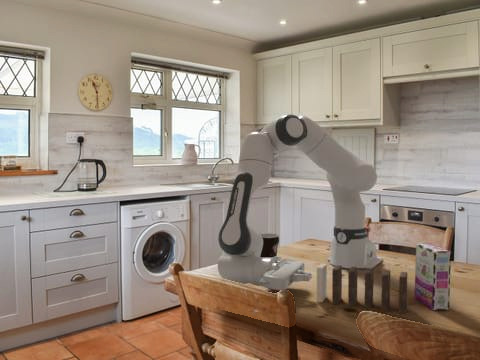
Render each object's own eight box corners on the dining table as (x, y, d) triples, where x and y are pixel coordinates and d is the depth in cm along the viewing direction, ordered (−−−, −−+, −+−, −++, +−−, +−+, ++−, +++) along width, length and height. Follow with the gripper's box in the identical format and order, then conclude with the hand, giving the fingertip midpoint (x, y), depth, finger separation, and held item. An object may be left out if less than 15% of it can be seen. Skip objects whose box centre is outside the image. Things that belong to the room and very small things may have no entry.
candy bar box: (450, 310, 123) (452, 251, 122) (433, 311, 123) (434, 251, 122) (430, 297, 134) (431, 242, 133) (413, 297, 134) (414, 242, 133)
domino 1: (332, 303, 129) (332, 269, 129) (336, 298, 134) (336, 265, 133) (337, 304, 129) (338, 270, 128) (341, 299, 133) (341, 265, 132)
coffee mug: (264, 264, 172) (263, 238, 171) (253, 259, 180) (252, 234, 179) (289, 260, 178) (289, 235, 177) (277, 256, 185) (277, 231, 184)
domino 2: (348, 305, 128) (348, 271, 127) (351, 300, 132) (351, 266, 131) (353, 306, 127) (354, 271, 126) (357, 301, 131) (357, 267, 131)
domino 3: (364, 308, 126) (365, 272, 125) (367, 302, 130) (367, 268, 129) (370, 309, 125) (370, 273, 124) (373, 303, 130) (373, 268, 129)
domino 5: (398, 312, 122) (399, 276, 121) (400, 306, 126) (401, 271, 126) (405, 313, 121) (405, 277, 120) (406, 307, 126) (407, 272, 125)
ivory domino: (316, 301, 131) (316, 267, 131) (321, 296, 136) (321, 263, 135) (322, 302, 131) (322, 268, 130) (326, 296, 135) (326, 264, 134)
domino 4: (381, 310, 124) (382, 274, 123) (383, 304, 128) (384, 270, 128) (387, 311, 123) (388, 275, 122) (389, 305, 128) (390, 270, 127)
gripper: (253, 271, 130) (300, 276, 125) (278, 254, 149) (319, 258, 143) (253, 292, 131) (300, 298, 125) (278, 273, 149) (319, 278, 144)
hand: (310, 277), depth 134 cm, fingers closed
